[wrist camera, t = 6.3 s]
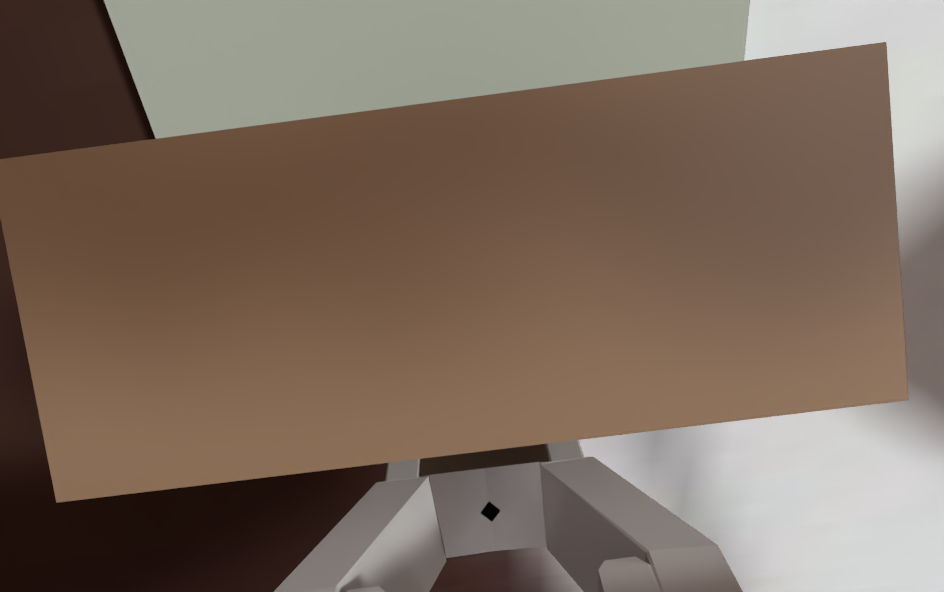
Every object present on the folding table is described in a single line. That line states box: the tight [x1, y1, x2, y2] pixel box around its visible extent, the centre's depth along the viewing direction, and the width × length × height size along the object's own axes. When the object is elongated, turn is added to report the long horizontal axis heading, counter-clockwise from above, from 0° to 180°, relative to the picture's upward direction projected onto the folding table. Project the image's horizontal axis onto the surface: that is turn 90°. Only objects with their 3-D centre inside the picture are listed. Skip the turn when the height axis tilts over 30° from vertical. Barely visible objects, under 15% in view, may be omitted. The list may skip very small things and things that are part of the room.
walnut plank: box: [0, 42, 908, 503], centre depth 12 cm, size 4×10×12 cm, turn 96°
